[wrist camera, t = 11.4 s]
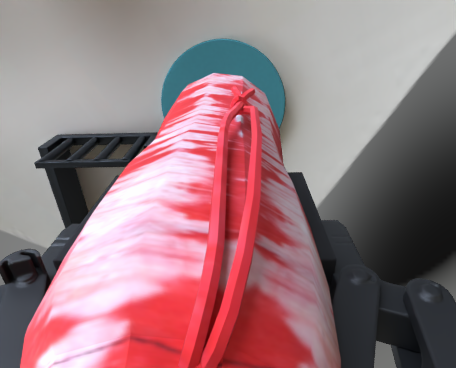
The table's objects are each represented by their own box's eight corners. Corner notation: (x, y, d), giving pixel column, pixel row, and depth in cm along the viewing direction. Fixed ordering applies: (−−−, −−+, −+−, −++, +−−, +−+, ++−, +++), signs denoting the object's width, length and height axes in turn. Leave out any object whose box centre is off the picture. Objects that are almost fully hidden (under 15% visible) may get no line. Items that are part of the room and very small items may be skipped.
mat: (170, 162, 37) (169, 164, 36) (154, 41, 31) (152, 41, 30) (281, 160, 36) (282, 162, 36) (288, 36, 30) (288, 36, 30)
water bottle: (237, 205, 29) (228, 778, 7) (155, 177, 28) (-149, 752, 6) (296, 80, 24) (959, 883, 2) (196, 39, 23) (-1144, 816, 1)
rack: (90, 241, 43) (64, 281, 37) (57, 134, 36) (17, 161, 29) (177, 241, 42) (166, 281, 36) (161, 132, 35) (144, 158, 29)
